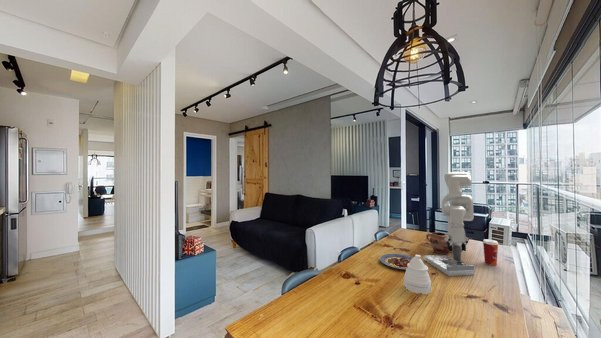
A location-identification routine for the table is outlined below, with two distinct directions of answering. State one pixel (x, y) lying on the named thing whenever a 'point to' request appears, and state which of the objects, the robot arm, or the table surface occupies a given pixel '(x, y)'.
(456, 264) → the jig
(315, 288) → the table surface
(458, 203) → the robot arm
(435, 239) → the decorative planter
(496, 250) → the coffee cup
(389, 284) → the table surface
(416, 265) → the honey pot
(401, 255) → the ceramic plate
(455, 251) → the gray cylinder
